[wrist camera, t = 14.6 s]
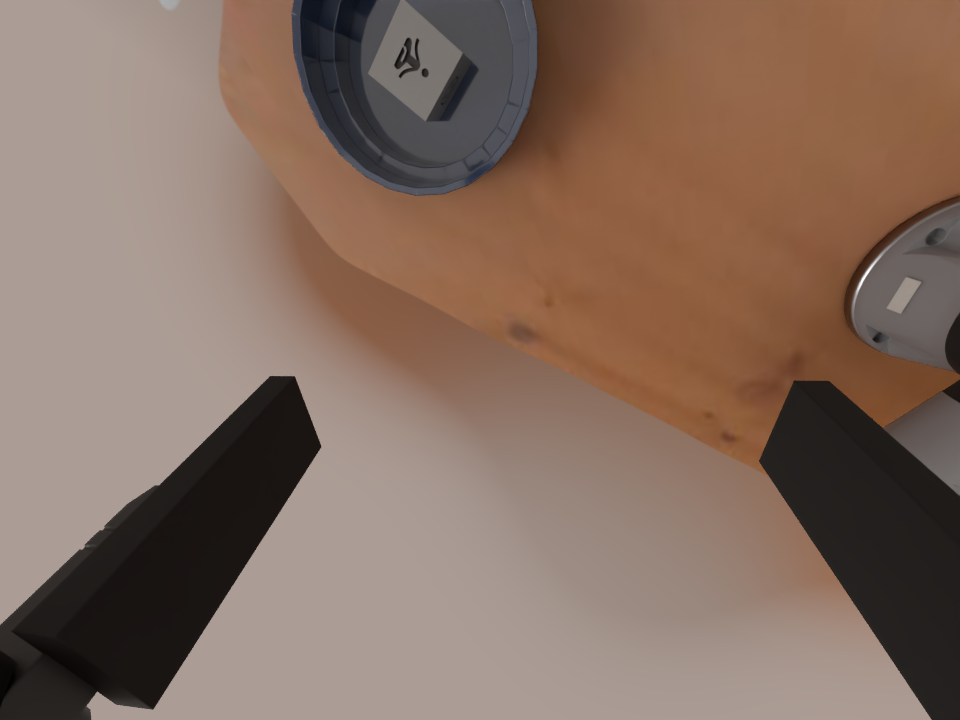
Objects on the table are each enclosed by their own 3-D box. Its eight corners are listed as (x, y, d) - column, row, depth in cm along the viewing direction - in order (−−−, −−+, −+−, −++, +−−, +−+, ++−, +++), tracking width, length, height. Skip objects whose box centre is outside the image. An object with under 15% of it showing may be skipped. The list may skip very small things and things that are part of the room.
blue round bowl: (537, -96, 26) (539, -148, 21) (535, 179, 35) (536, 189, 30) (303, -61, 29) (254, -100, 24) (357, 189, 38) (330, 200, 33)
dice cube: (419, 14, 30) (401, -3, 26) (472, 62, 31) (462, 52, 27) (389, 79, 32) (367, 73, 28) (438, 121, 33) (425, 121, 29)
